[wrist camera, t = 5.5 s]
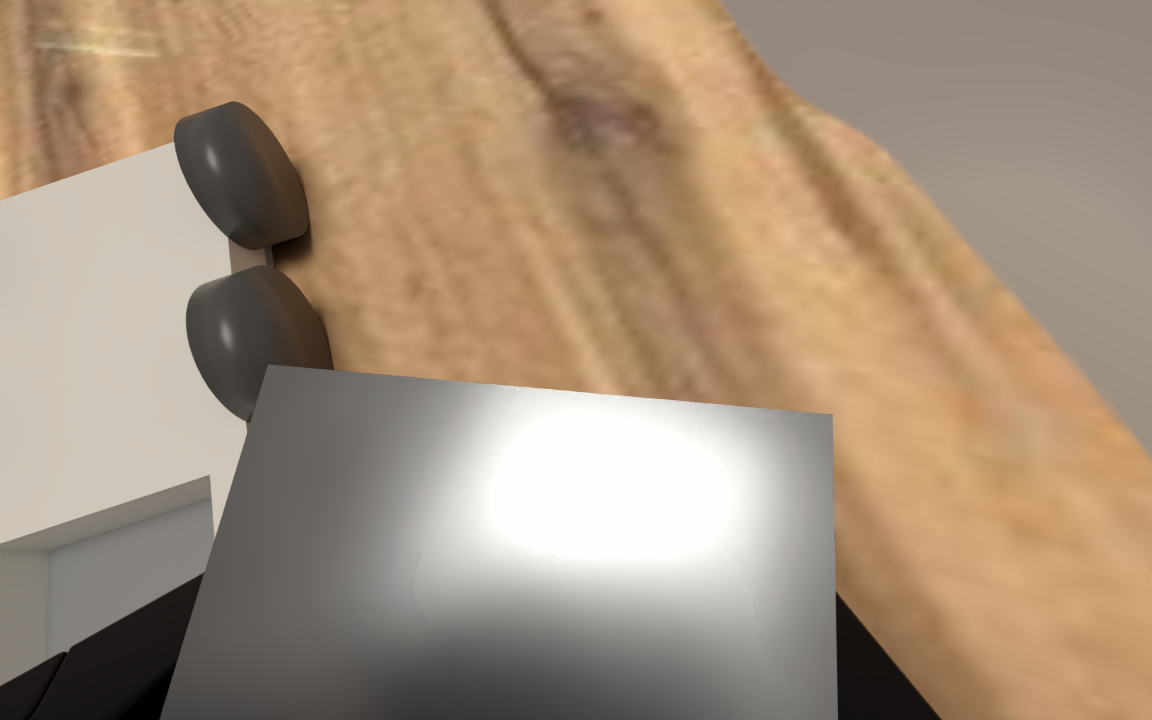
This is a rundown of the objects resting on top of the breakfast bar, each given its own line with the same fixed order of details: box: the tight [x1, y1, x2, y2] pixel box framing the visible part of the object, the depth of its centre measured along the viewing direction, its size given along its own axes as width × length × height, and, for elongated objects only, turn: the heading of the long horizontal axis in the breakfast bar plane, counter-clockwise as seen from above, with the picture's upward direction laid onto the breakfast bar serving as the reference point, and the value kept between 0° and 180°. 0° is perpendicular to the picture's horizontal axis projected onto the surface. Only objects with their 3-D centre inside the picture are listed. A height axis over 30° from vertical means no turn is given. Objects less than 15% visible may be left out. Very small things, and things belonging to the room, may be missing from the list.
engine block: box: [160, 365, 838, 720], centre depth 9 cm, size 5×5×10 cm
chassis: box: [0, 101, 333, 686], centre depth 17 cm, size 21×13×5 cm, turn 17°
